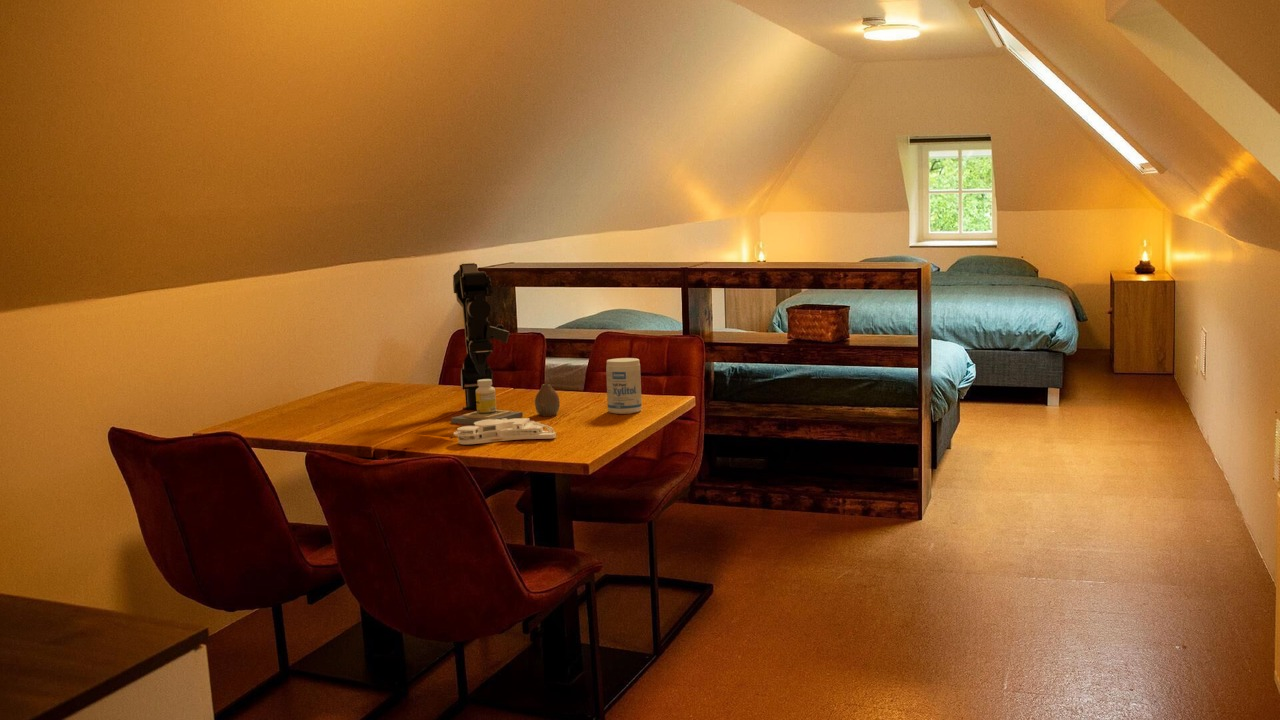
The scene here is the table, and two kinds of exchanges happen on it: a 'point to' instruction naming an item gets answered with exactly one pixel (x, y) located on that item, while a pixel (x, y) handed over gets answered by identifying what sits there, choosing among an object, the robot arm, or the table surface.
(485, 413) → the supplement bottle
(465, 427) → the molded plastic bracket
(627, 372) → the supplement tub
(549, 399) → the vase
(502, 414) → the grey square frame tile
